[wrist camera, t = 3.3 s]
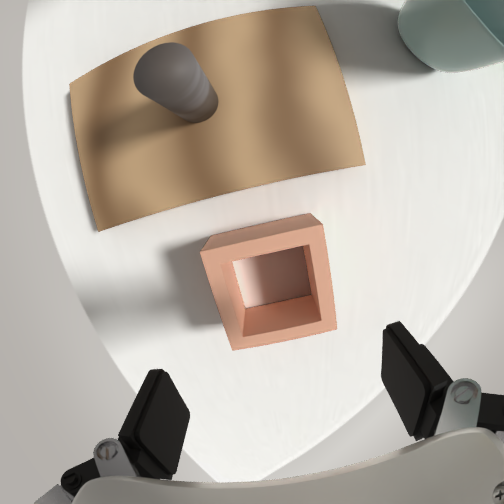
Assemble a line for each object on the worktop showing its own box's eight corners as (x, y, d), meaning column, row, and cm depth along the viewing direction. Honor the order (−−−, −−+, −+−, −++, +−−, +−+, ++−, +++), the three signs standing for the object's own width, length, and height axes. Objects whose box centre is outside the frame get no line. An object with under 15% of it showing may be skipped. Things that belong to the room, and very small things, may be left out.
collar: (310, 213, 19) (322, 224, 15) (325, 302, 21) (337, 329, 17) (211, 235, 20) (199, 252, 16) (236, 321, 22) (232, 350, 18)
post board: (312, 14, 14) (336, -49, 6) (358, 164, 18) (420, 166, 10) (79, 87, 16) (12, 67, 8) (107, 227, 20) (40, 261, 12)
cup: (464, 57, 14) (531, 33, 4) (436, 96, 16) (518, 76, 6) (407, -2, 13) (459, -48, 3) (370, 30, 14) (427, -30, 5)
